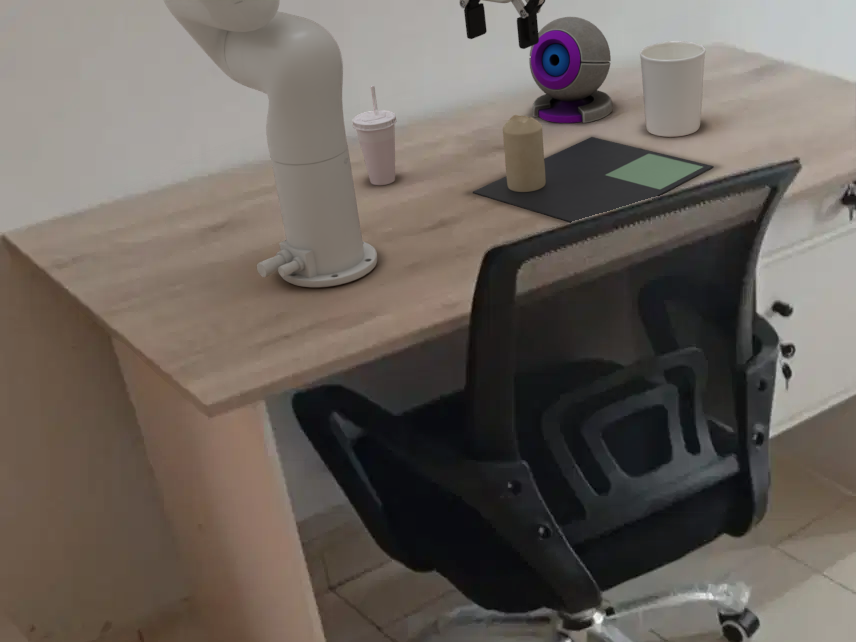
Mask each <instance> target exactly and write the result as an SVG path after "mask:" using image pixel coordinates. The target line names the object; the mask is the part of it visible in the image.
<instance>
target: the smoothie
mask: <svg viewBox="0 0 856 642" xmlns="http://www.w3.org/2000/svg"><path fill="white" fill-rule="evenodd" d="M370 92H371V100H372V107H373V110H368V111H364V112H363V111H362V112H361V113H358V114H356V115H354V116H353V117H352V119H351V121H352V128H353V129H354V130H355V132H356V135H357V139H358V143H359V146H360V149H361V153H362V157H363V160H364V164H365V168H366V170H367V174H368V178H369V181H370V184H371V185H374V186H385V185H389V184H392V183H394V182H395V181H396V127H395V124H397V116H396V113H395V112H394V111H392V110H386V109H378V103H377V101H378V100H377V93H376V86H375V85H371V86H370Z"/></svg>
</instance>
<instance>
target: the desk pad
mask: <svg viewBox="0 0 856 642" xmlns="http://www.w3.org/2000/svg"><path fill="white" fill-rule="evenodd" d="M544 163H545V179H546V182H545V186H544V187H542V188H541V189H538V190H535V191H530V192H517V191H513V190H510V189H509V188H508V185H507V175H505V176H503V177H501V178H500V179H497V180H495V181H493V182H490V183H488V184H486V185H483V186H482V187H480V188H477V189H475V190H473V191H472V194H475V195H479V196H481V197H485V198H488V199H492V200H495V201H498V202H502V203H505V204H508V205H512V206H514V207H518V208H522V209H525V210H528V211H531V212H535V213H537V214H542V215H545V216H548V217H552V218H555V219H558V220H562V221H565V222H568V223H571V222H572V221H575V220H579V219H582V218H585V217H589V216H592V215H595V214H599V213H603V212H607V211H610V210H613V209H616V208H619V207H622V206H626V205H629V204H632V203H635V202H638V201H641V200H645V199H648V198H651V197H655V196H658V195H660V196H662V195H664V194H666V193H668V192H669V191H671V190H673V189H675V188H678V187H679V186H681V185H682V184H685V183H687V182H689V181H690V180H692V179H694V178H697V177H698V176H700V175H702V174H704V173H705V172H708V171H709V170H712V169H714V165H711V164H707V163H703V162H698V161H695V160H689V159H687V158H682V157H677V156H675V155H674V156H673V155H669V154H665V153H661V152H657V151H653V150H648V149H644V148H640V147H636V146H631V145H628V144H623V143H619V142H615V141H611V140H608V139H607V140H606V139H603V138H598V137H594V136H590V137H589V138H586V139H584V140H581V141H580V142H577V143H575V144H573V145H570V146H569V147H566V148H565V149H562V150H560V151H557V152H555V153H554V154H551V155H549V156H547V157H544ZM661 194H662V195H661ZM658 197H659V196H658Z"/></svg>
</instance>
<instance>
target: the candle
mask: <svg viewBox="0 0 856 642" xmlns="http://www.w3.org/2000/svg"><path fill="white" fill-rule="evenodd" d="M543 135H544V134H543V124H542V123H541V122H540V121H538V120H536V119H535V118H534V117H533V116H526V115H518V114H514V115H512V116H511V117H510V118H509V120H508V121H507V122H506V123H505V124H504V126H503V127H502V137H503V150H504V152H503V153H504V162H505V176H507V185H508V188H509V189H510V190H513V191H517V192H530V191H535V190H538V189H541V188H542V187H544V186H545V182H546V179H545V163H544V159H545V150H544V149H545V148H544V137H543Z"/></svg>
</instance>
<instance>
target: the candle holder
mask: <svg viewBox="0 0 856 642" xmlns="http://www.w3.org/2000/svg"><path fill="white" fill-rule="evenodd" d="M706 52H707V51H706V47H705V46H704V45H702V44H701V43H697V42H694V41H693V42H692V41H685V40H681V41H680V40H671V41H661V42H657V43H651V44H649V45H645V46H644V47H642V49H640V51H639V59H640V70H641V82H642V83H641V84H642V95H643V108H644V120H645V126H646V131H647V132H648V133H649V134H651V135H653V136H658V137H665V138H668V137H669V138H676V137H677V138H678V137H684V136H688V135H692V134H694V133H696V132H697V131H698V130H699V129H700V127H701V120H702V110H703V109H702V108H703V91H704V75H705V62H706V61H705V59H706Z"/></svg>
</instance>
